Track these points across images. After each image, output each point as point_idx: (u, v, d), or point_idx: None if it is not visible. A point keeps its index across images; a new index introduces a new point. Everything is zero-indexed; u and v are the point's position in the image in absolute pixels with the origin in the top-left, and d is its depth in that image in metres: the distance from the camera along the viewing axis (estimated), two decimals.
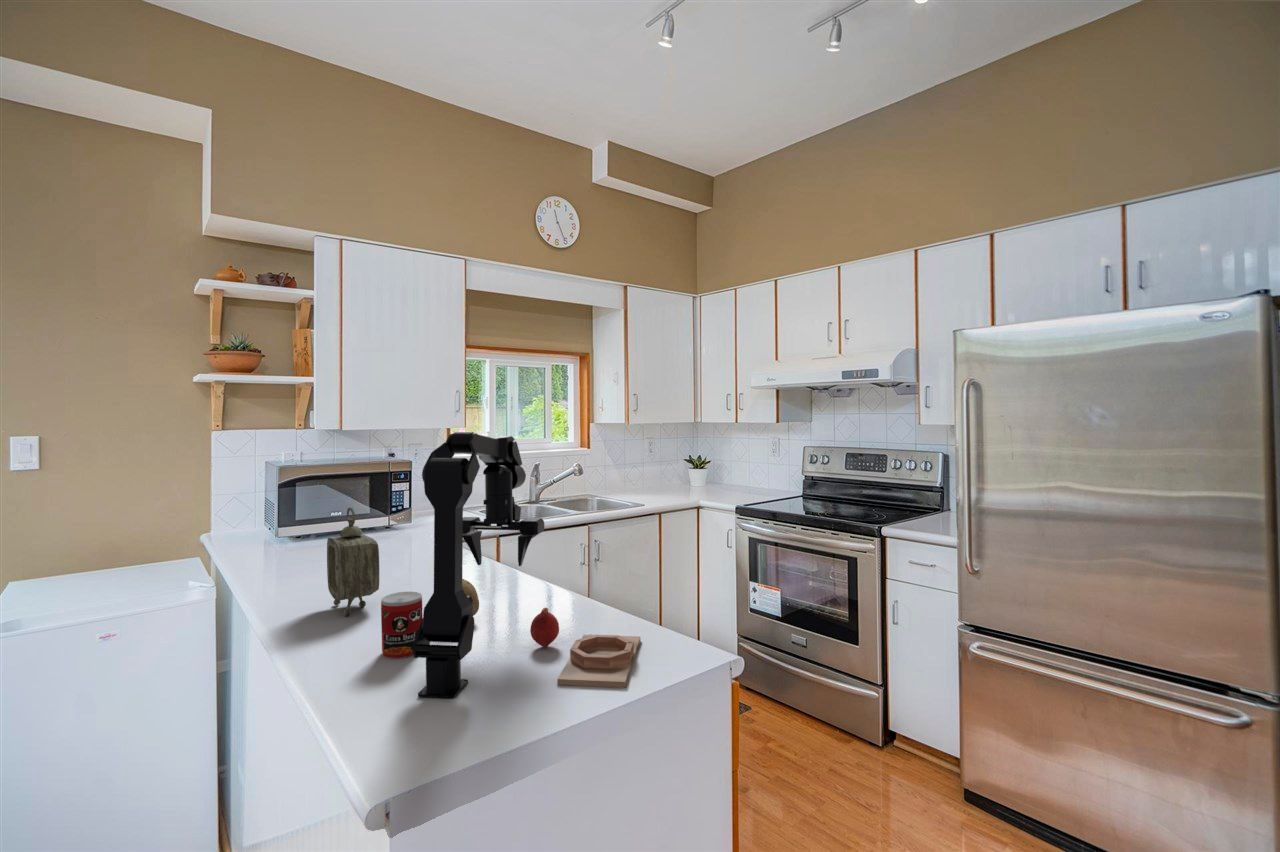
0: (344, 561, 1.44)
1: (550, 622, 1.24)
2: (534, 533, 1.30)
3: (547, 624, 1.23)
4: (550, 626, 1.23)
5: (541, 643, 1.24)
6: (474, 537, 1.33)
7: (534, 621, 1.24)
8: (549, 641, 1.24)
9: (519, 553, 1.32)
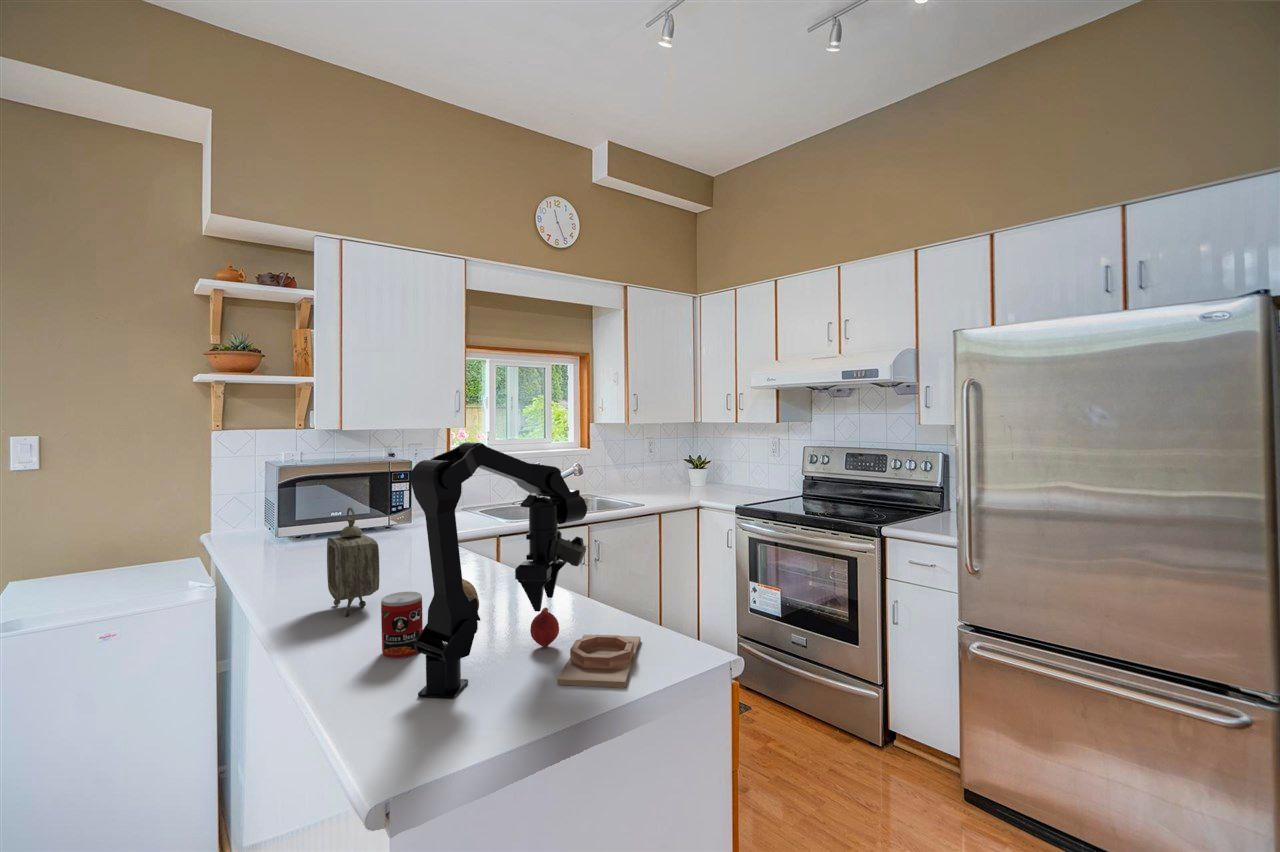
0: (344, 561, 1.44)
1: (550, 622, 1.24)
2: (515, 577, 1.17)
3: (547, 624, 1.23)
4: (550, 626, 1.23)
5: (541, 643, 1.24)
6: None
7: (534, 621, 1.24)
8: (549, 641, 1.24)
9: None
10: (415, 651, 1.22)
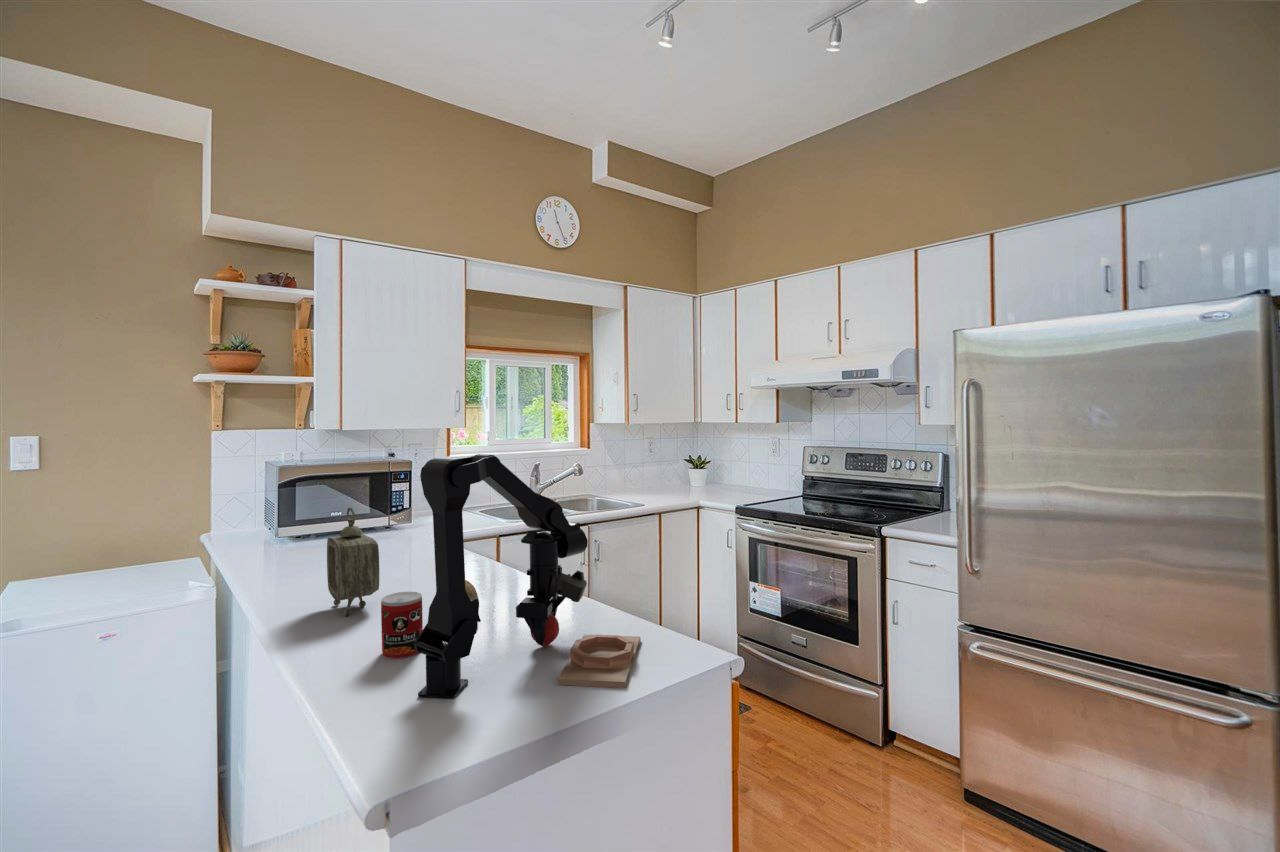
0: (344, 561, 1.44)
1: (550, 622, 1.24)
2: (516, 615, 1.17)
3: (547, 624, 1.23)
4: (550, 626, 1.23)
5: None
6: None
7: None
8: (549, 641, 1.24)
9: None
10: (415, 651, 1.22)
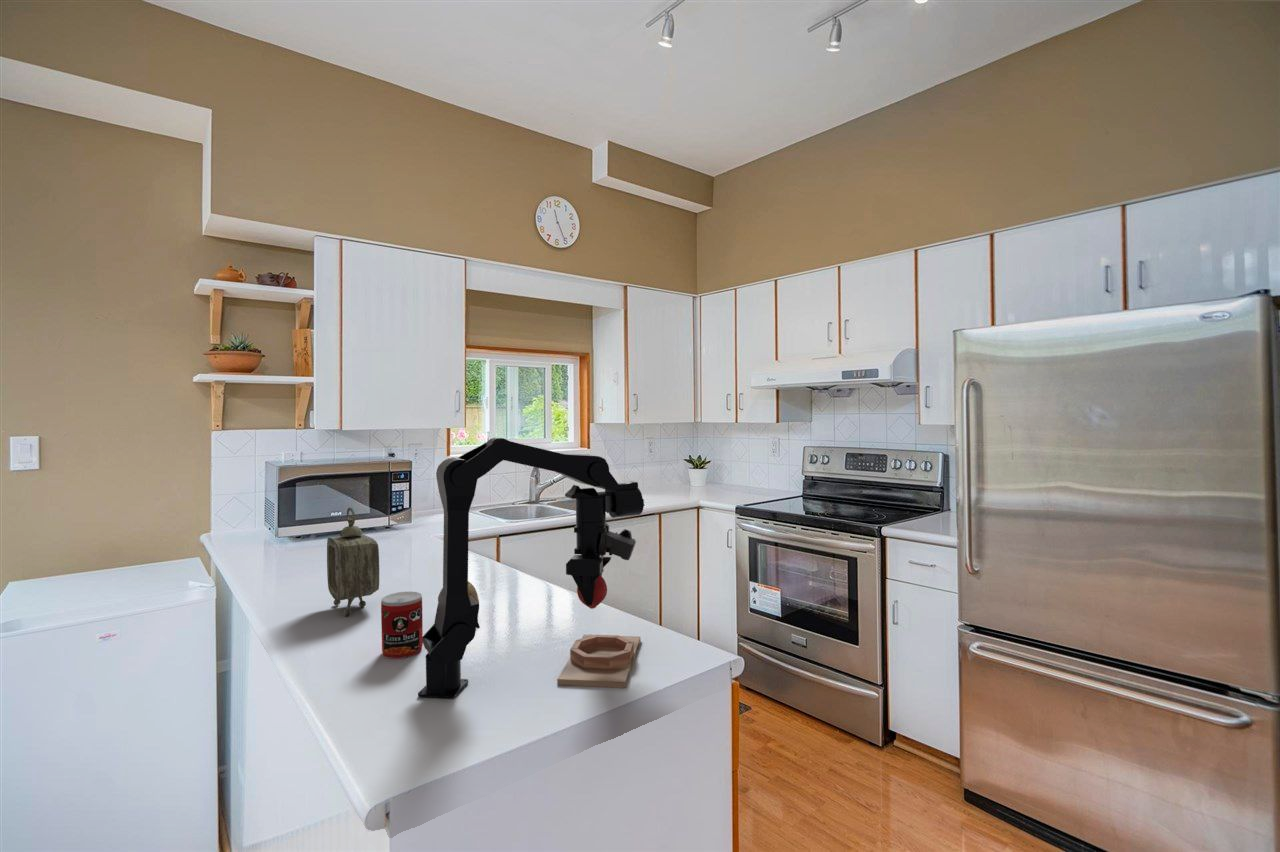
0: (344, 561, 1.44)
1: (598, 582, 1.18)
2: (566, 572, 1.11)
3: (596, 584, 1.17)
4: (598, 585, 1.17)
5: None
6: None
7: None
8: (598, 602, 1.18)
9: None
10: (415, 651, 1.22)
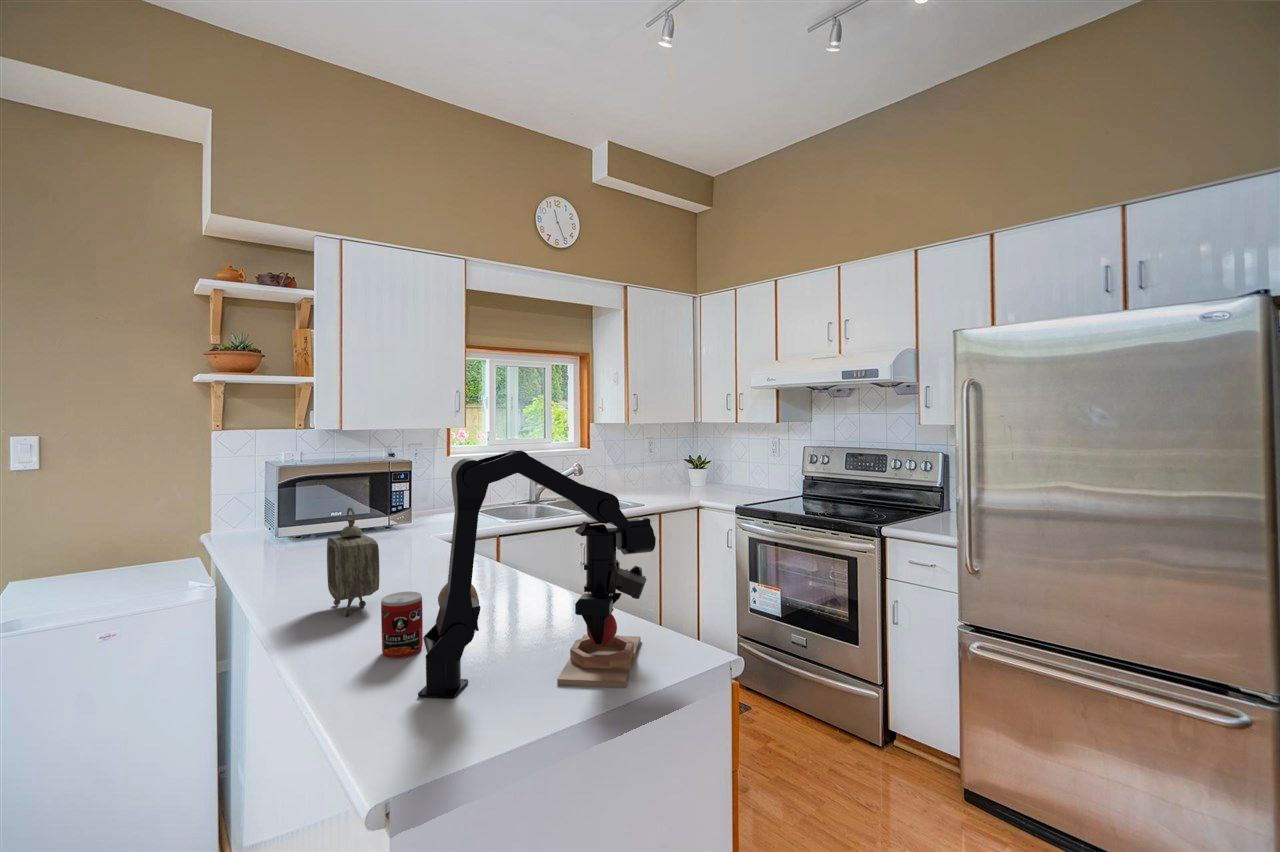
0: (344, 561, 1.44)
1: (608, 621, 1.16)
2: (575, 612, 1.09)
3: (605, 622, 1.16)
4: (608, 624, 1.16)
5: None
6: None
7: None
8: (607, 640, 1.16)
9: None
10: (415, 651, 1.22)
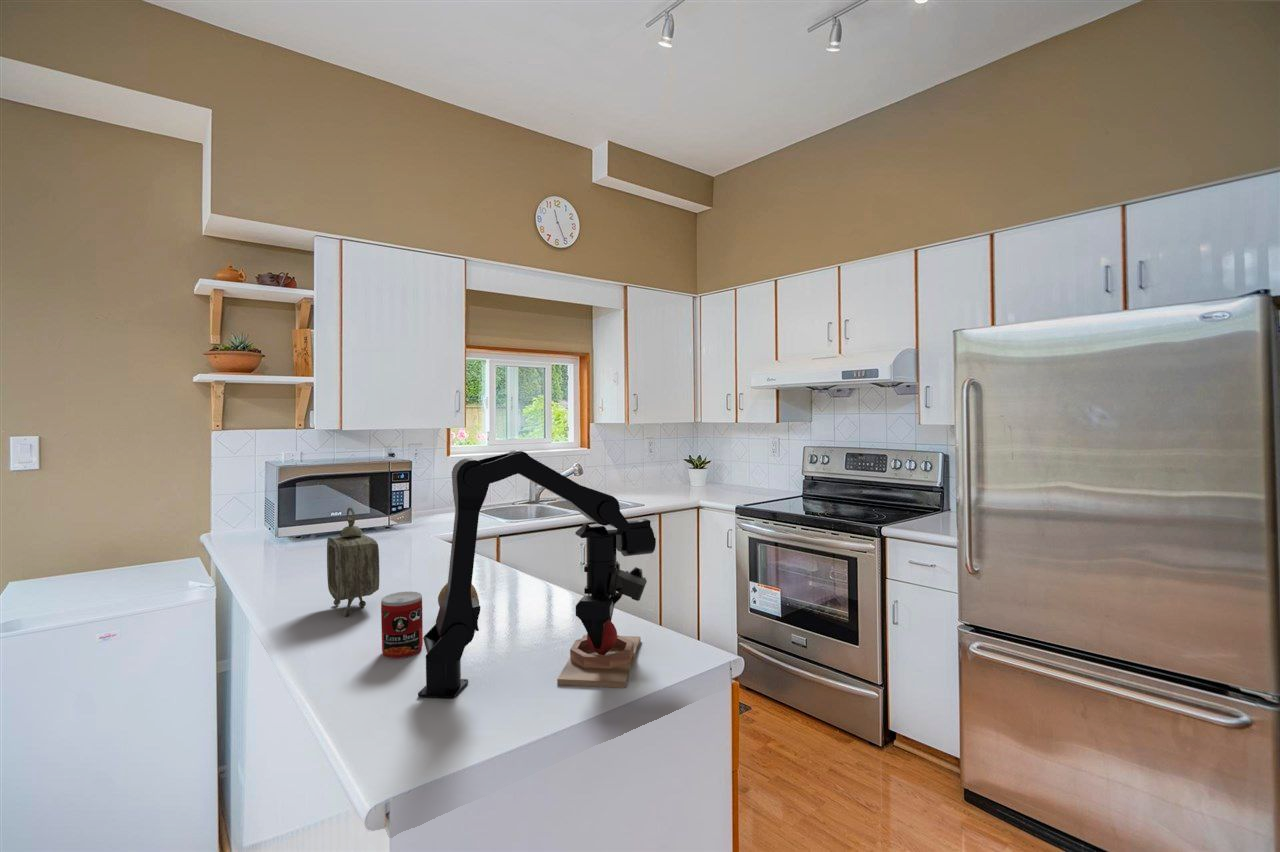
0: (344, 561, 1.44)
1: (609, 628, 1.16)
2: None
3: (606, 630, 1.16)
4: (608, 632, 1.16)
5: (599, 651, 1.16)
6: None
7: None
8: (607, 648, 1.16)
9: None
10: (415, 651, 1.22)
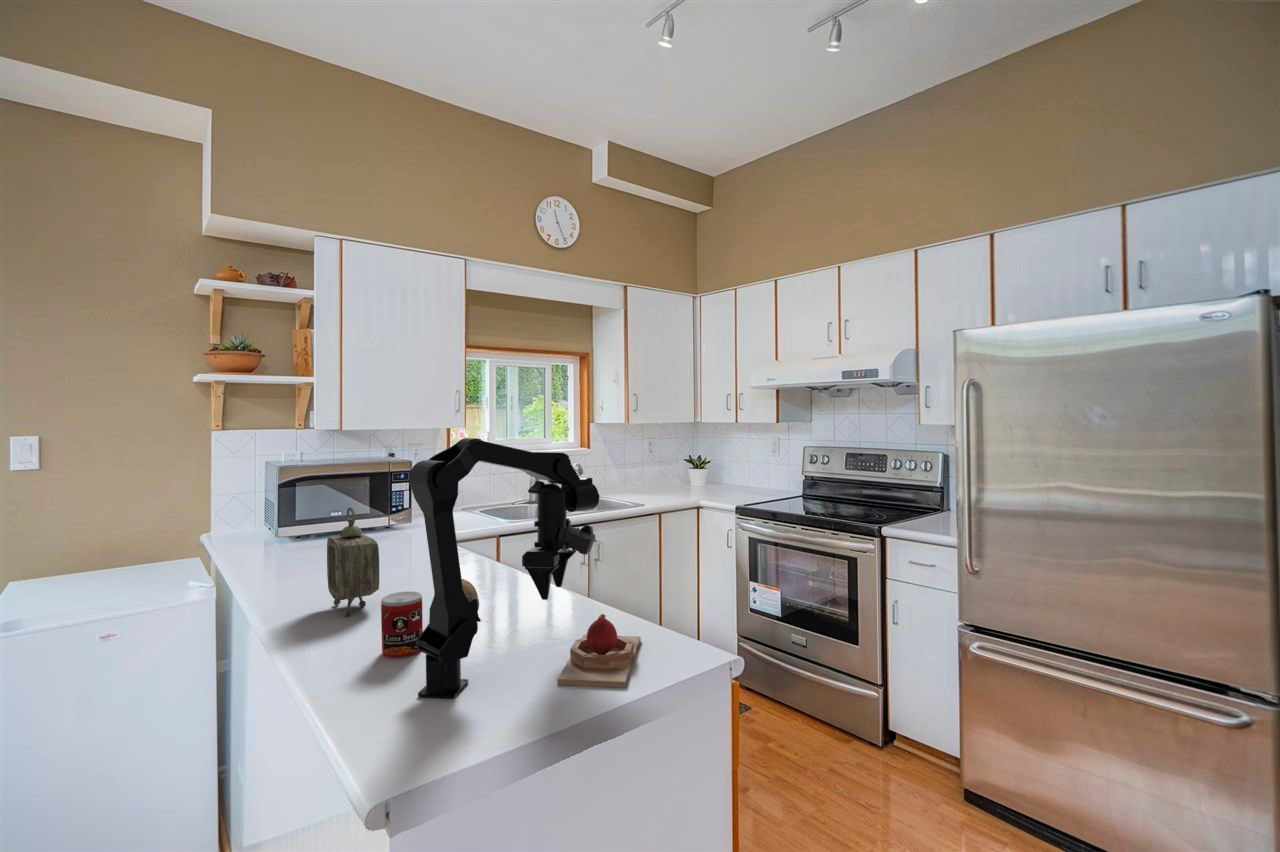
0: (344, 561, 1.44)
1: (608, 630, 1.16)
2: (522, 564, 1.15)
3: (605, 632, 1.16)
4: (608, 633, 1.16)
5: (599, 652, 1.16)
6: None
7: (591, 628, 1.17)
8: (607, 650, 1.16)
9: None
10: (415, 651, 1.22)
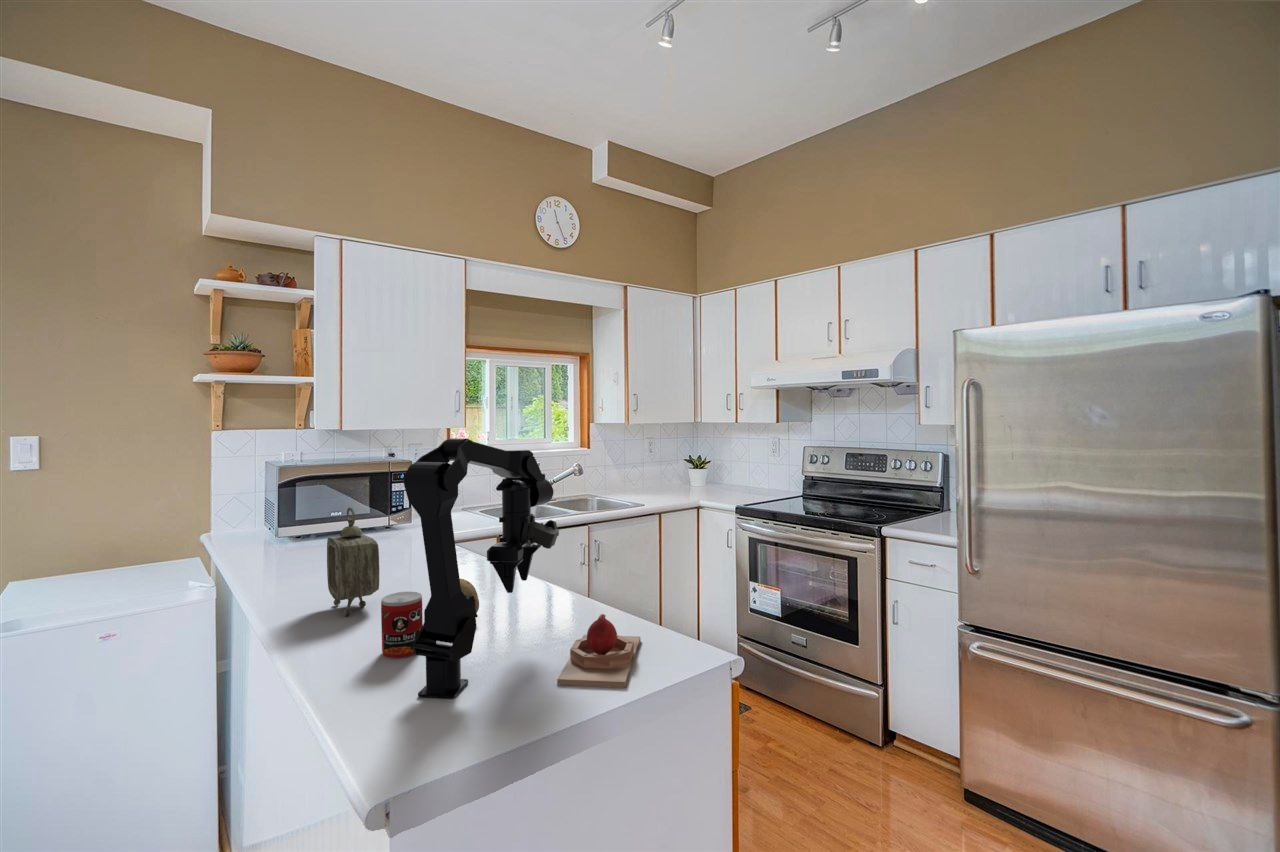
0: (344, 561, 1.44)
1: (608, 630, 1.16)
2: (487, 558, 1.19)
3: (606, 632, 1.16)
4: (608, 633, 1.16)
5: (599, 652, 1.16)
6: None
7: (591, 628, 1.17)
8: (607, 650, 1.16)
9: None
10: None
